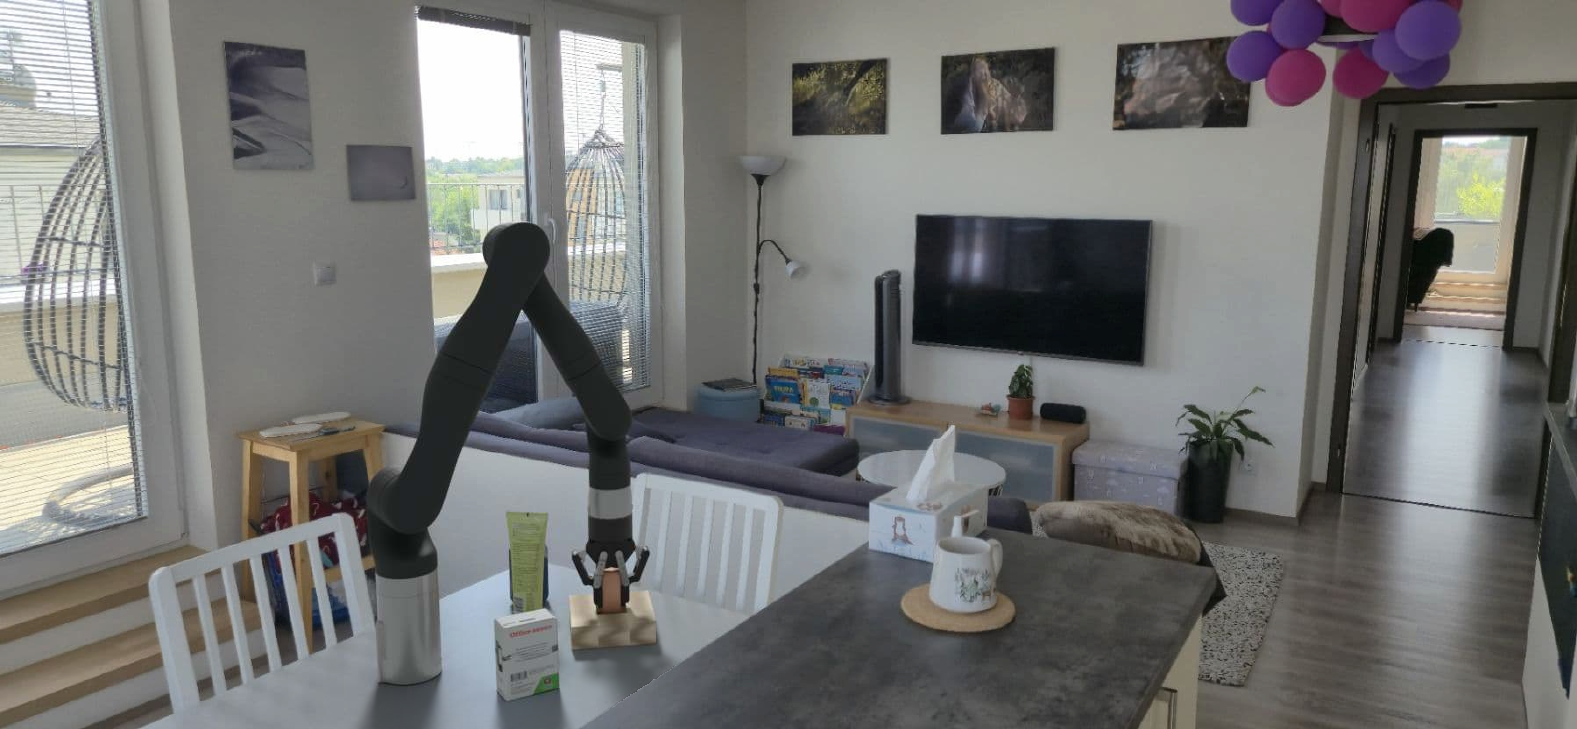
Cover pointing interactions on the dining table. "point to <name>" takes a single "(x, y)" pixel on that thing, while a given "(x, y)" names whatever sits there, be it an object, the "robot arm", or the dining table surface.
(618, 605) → the peg
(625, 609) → the socket
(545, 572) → the soda can
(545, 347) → the robot arm
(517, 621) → the ink box
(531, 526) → the tube
